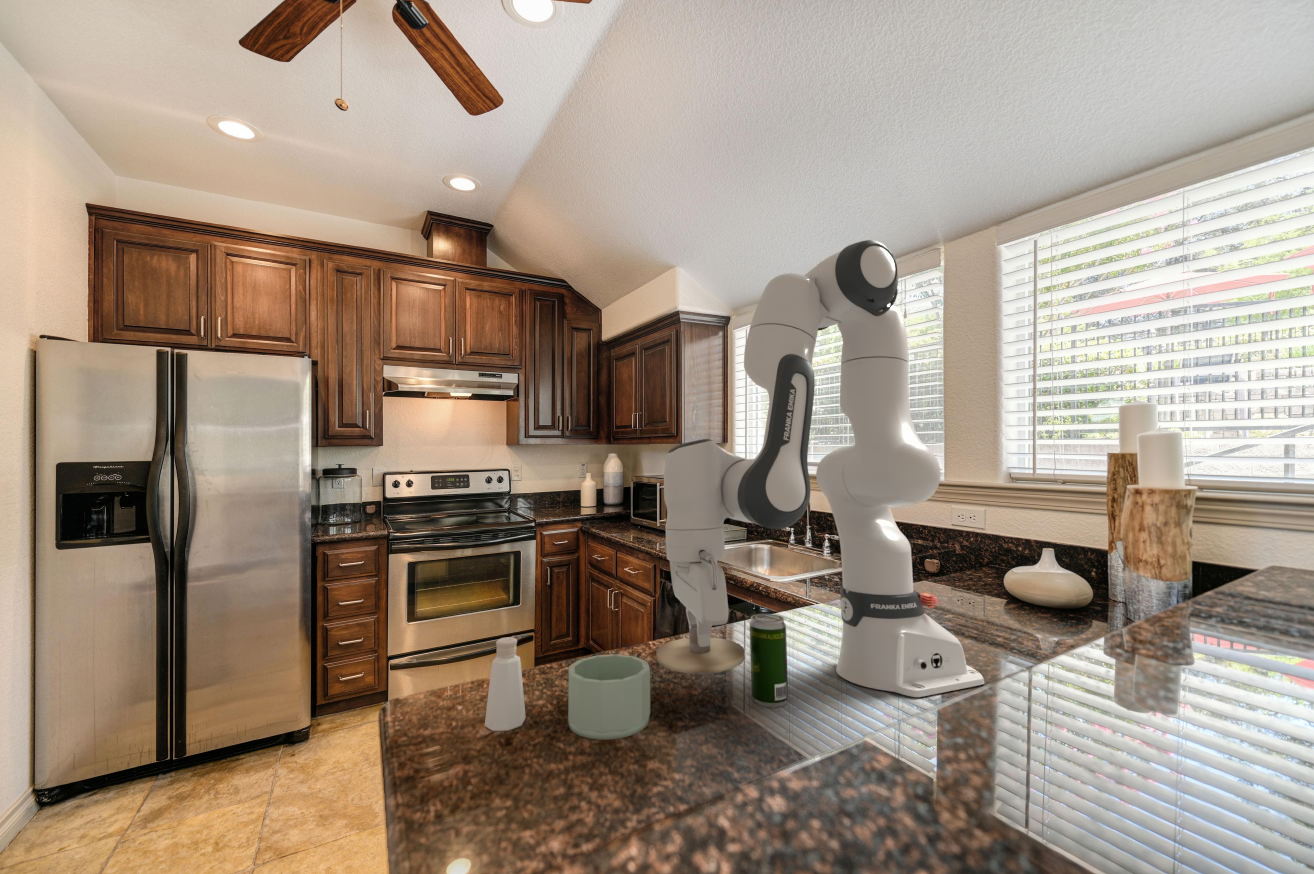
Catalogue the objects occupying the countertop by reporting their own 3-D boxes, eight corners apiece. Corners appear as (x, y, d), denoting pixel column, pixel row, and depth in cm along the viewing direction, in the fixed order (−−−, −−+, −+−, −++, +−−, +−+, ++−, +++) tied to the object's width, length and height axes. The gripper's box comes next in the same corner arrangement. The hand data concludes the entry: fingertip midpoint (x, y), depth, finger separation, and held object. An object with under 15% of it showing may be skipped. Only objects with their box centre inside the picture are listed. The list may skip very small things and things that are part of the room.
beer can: (796, 701, 77) (793, 618, 78) (772, 711, 74) (770, 624, 75) (767, 690, 81) (764, 611, 82) (743, 700, 78) (741, 617, 79)
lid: (729, 640, 85) (727, 615, 85) (757, 667, 72) (755, 638, 72) (650, 647, 83) (649, 622, 83) (665, 677, 70) (664, 646, 70)
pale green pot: (643, 700, 78) (642, 652, 78) (655, 735, 67) (654, 678, 68) (568, 706, 76) (568, 657, 77) (568, 743, 65) (568, 685, 66)
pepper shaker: (509, 734, 68) (510, 647, 69) (475, 727, 70) (477, 642, 71) (533, 717, 73) (534, 636, 74) (501, 711, 75) (503, 632, 76)
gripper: (737, 554, 69) (742, 661, 68) (699, 538, 89) (703, 621, 88) (690, 557, 68) (695, 666, 67) (663, 541, 88) (666, 624, 87)
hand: (699, 640), depth 78 cm, fingers closed on lid, 3 cm apart
